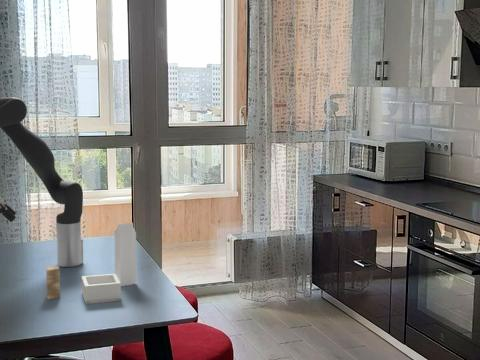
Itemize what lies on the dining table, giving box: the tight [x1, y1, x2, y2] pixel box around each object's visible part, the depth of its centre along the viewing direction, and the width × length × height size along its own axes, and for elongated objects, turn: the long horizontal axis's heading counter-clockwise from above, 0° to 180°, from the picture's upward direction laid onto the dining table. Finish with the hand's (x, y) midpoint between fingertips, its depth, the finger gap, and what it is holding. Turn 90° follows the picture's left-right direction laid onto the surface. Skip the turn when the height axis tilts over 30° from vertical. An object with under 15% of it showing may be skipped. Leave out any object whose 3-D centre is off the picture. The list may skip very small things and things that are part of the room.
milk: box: [114, 222, 137, 287], centre depth 219 cm, size 6×6×22 cm
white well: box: [81, 273, 122, 305], centre depth 204 cm, size 11×11×6 cm
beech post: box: [45, 265, 61, 300], centre depth 204 cm, size 4×4×10 cm
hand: (13, 217), depth 197 cm, fingers open, 8 cm apart
